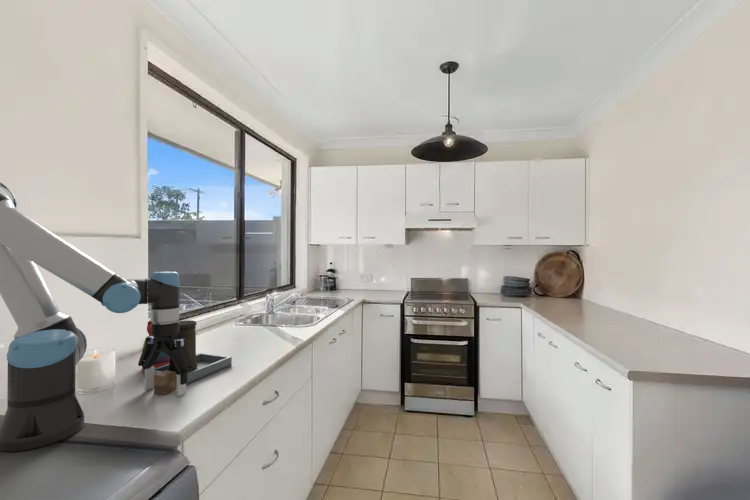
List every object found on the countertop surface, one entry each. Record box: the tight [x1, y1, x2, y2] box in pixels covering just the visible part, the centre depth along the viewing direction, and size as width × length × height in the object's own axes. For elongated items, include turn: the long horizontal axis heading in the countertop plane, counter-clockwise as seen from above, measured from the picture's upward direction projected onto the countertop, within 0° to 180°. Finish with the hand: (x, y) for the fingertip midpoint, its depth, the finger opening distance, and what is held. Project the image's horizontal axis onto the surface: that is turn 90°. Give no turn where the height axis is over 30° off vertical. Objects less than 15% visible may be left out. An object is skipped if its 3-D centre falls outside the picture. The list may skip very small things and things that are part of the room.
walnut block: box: [153, 370, 176, 397], centre depth 107 cm, size 4×4×6 cm
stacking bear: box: [141, 320, 170, 373], centre depth 131 cm, size 11×10×18 cm
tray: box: [154, 352, 233, 387], centre depth 124 cm, size 22×15×4 cm
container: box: [168, 319, 198, 374], centre depth 121 cm, size 9×9×18 cm
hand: (165, 391), depth 107 cm, fingers open, 12 cm apart
